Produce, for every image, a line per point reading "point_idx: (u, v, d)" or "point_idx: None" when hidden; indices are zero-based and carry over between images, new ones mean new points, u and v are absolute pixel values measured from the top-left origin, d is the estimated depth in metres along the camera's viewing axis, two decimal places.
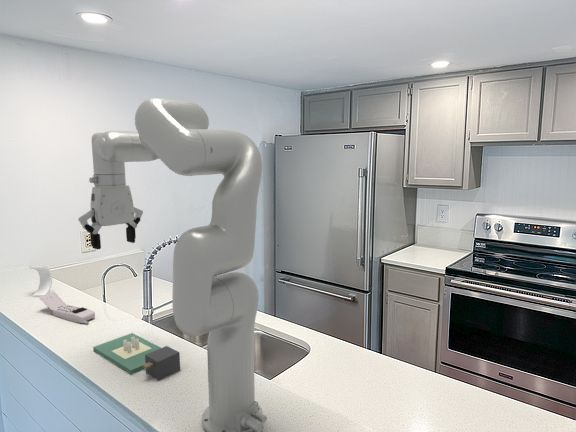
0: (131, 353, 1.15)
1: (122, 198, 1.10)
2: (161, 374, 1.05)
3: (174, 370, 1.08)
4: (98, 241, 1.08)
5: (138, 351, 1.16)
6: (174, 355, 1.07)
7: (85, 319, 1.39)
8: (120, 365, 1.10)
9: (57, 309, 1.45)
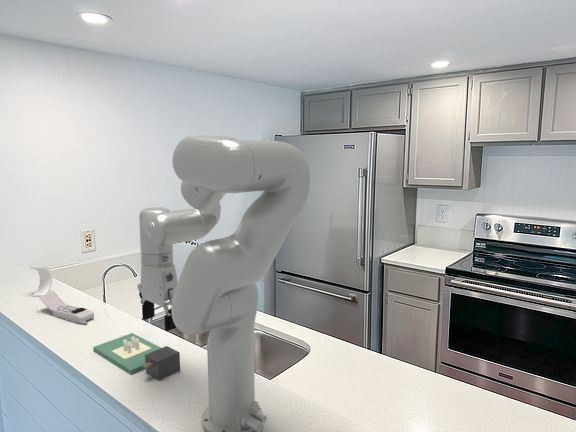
0: (131, 353, 1.15)
1: None
2: (161, 374, 1.05)
3: (174, 370, 1.08)
4: None
5: (138, 351, 1.16)
6: (174, 355, 1.07)
7: (84, 319, 1.39)
8: (120, 365, 1.10)
9: (56, 309, 1.45)
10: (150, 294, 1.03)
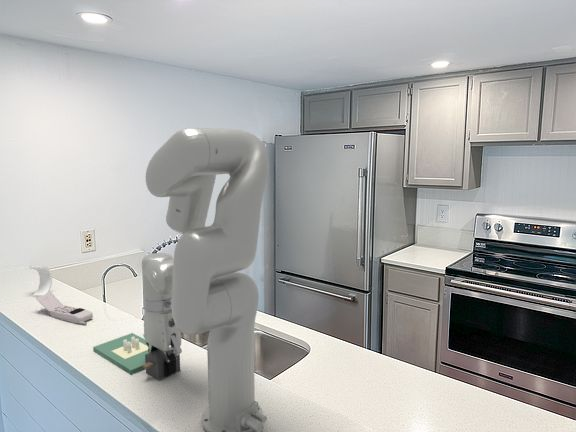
0: (131, 353, 1.15)
1: None
2: (161, 374, 1.05)
3: None
4: (175, 364, 1.07)
5: (138, 351, 1.16)
6: None
7: (83, 320, 1.38)
8: (120, 365, 1.10)
9: (54, 310, 1.44)
10: (153, 339, 1.05)
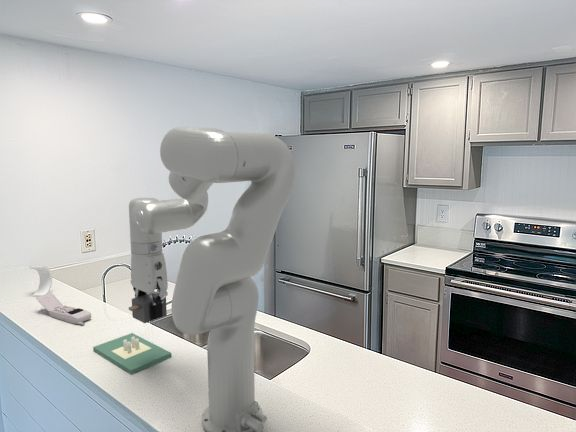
0: (131, 353, 1.15)
1: None
2: (147, 317, 1.06)
3: None
4: (161, 309, 1.08)
5: (138, 351, 1.16)
6: None
7: (81, 320, 1.38)
8: (120, 365, 1.10)
9: (53, 310, 1.44)
10: (140, 283, 1.06)
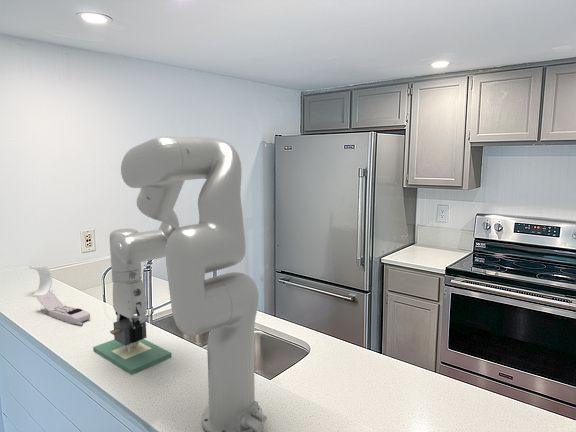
0: (131, 353, 1.15)
1: None
2: (127, 340, 1.13)
3: None
4: (141, 332, 1.16)
5: (138, 351, 1.16)
6: None
7: (80, 320, 1.38)
8: (120, 365, 1.10)
9: (53, 310, 1.44)
10: (120, 308, 1.14)
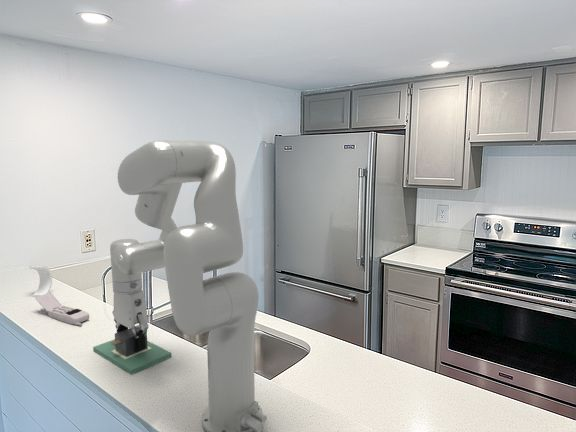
0: None
1: None
2: (129, 351, 1.14)
3: None
4: (144, 341, 1.15)
5: None
6: None
7: (79, 321, 1.37)
8: (120, 365, 1.10)
9: (52, 310, 1.44)
10: (121, 318, 1.14)
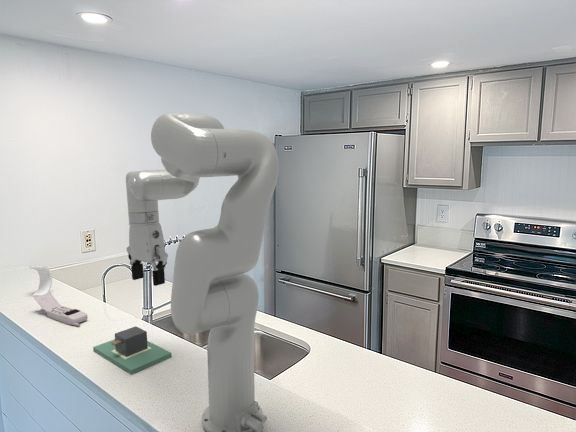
0: None
1: None
2: (129, 351, 1.14)
3: (142, 348, 1.17)
4: (163, 275, 1.11)
5: None
6: (142, 334, 1.16)
7: (77, 321, 1.37)
8: (120, 365, 1.10)
9: (51, 310, 1.44)
10: (138, 252, 1.10)
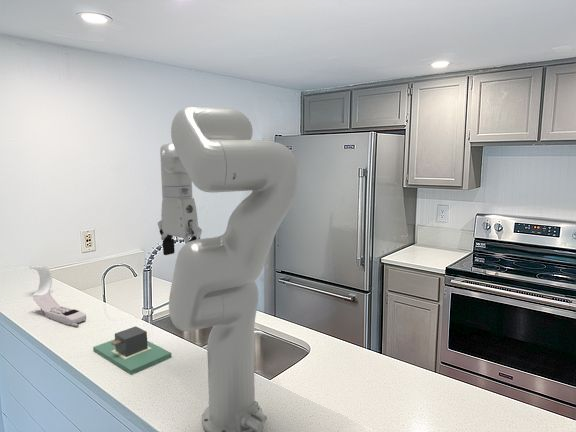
0: None
1: None
2: (129, 351, 1.14)
3: (142, 348, 1.17)
4: None
5: None
6: (142, 334, 1.16)
7: (75, 321, 1.37)
8: (120, 365, 1.10)
9: (49, 311, 1.43)
10: (171, 227, 1.08)
